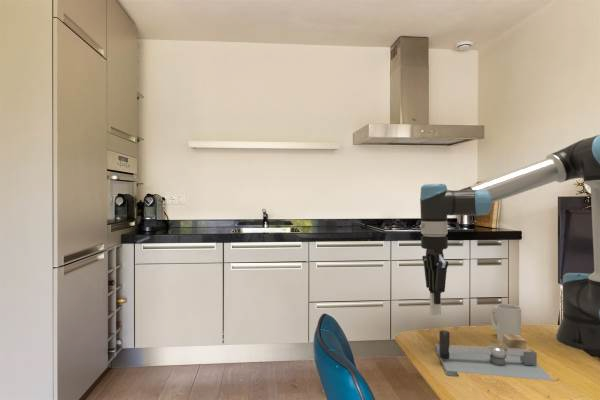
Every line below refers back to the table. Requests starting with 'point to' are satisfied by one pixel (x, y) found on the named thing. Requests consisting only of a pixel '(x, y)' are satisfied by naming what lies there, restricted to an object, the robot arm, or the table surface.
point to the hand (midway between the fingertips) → (435, 313)
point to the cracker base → (491, 366)
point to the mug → (506, 320)
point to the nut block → (514, 341)
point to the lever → (484, 350)
